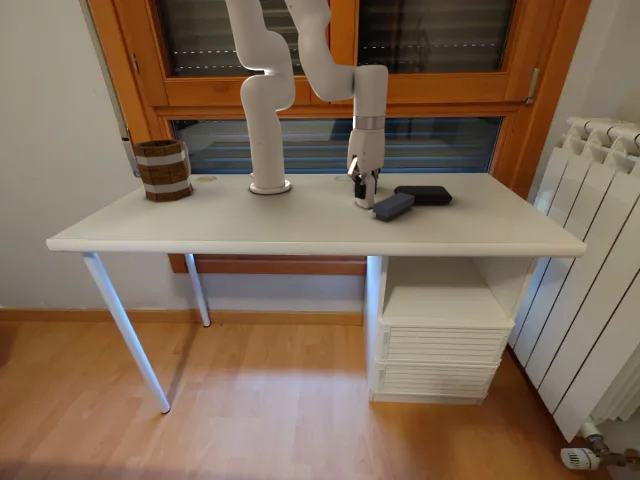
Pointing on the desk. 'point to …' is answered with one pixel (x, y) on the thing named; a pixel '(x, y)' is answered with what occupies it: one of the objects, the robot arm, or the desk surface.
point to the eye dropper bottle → (368, 191)
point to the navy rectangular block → (393, 206)
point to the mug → (164, 169)
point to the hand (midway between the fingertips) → (365, 195)
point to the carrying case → (426, 194)
